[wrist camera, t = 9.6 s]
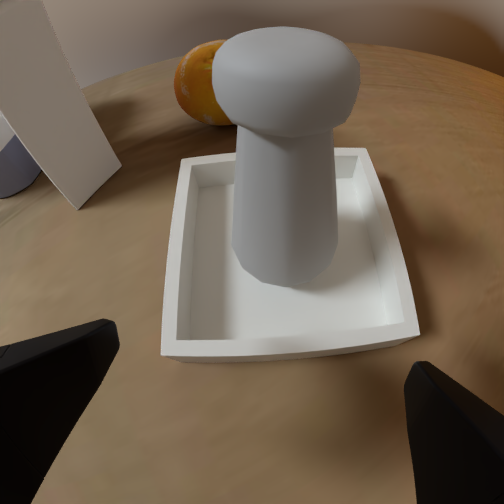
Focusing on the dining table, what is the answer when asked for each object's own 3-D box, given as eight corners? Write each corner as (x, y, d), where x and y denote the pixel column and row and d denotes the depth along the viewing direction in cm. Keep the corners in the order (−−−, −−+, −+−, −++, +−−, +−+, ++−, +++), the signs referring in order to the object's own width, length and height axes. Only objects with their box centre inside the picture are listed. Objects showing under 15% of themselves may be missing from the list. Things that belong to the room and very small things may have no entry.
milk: (96, 149, 26) (16, -19, 6) (123, 166, 24) (31, -41, 4) (55, 188, 24) (-46, 26, 4) (77, 212, 22) (-50, 13, 2)
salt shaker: (288, 200, 19) (291, 7, 8) (349, 259, 17) (426, 59, 5) (218, 249, 18) (148, 49, 6) (276, 319, 16) (274, 114, 4)
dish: (396, 345, 15) (419, 334, 12) (180, 362, 16) (160, 355, 13) (357, 177, 21) (365, 148, 18) (192, 187, 22) (181, 158, 19)
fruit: (242, 151, 23) (229, 68, 16) (168, 130, 26) (144, 64, 18) (284, 103, 26) (282, 34, 19) (215, 89, 29) (204, 29, 22)
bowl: (39, 201, 23) (-19, 131, 14) (-23, 219, 24) (-69, 173, 14) (85, 113, 30) (54, 51, 21) (18, 141, 31) (-13, 95, 21)
